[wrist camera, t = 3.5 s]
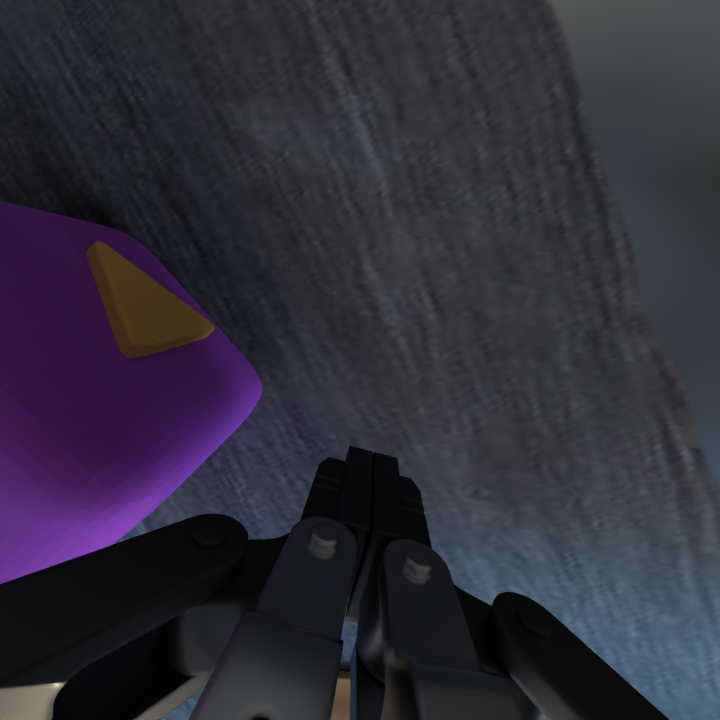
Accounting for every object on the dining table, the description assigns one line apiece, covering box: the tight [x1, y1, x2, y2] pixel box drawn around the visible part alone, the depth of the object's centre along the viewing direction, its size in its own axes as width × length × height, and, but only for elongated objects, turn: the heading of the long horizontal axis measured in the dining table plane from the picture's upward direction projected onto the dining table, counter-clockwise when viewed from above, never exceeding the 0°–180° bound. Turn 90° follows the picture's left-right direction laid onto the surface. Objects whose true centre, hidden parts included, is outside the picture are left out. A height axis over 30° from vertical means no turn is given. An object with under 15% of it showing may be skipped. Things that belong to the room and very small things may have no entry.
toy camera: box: [0, 201, 262, 584], centre depth 11 cm, size 11×14×10 cm
